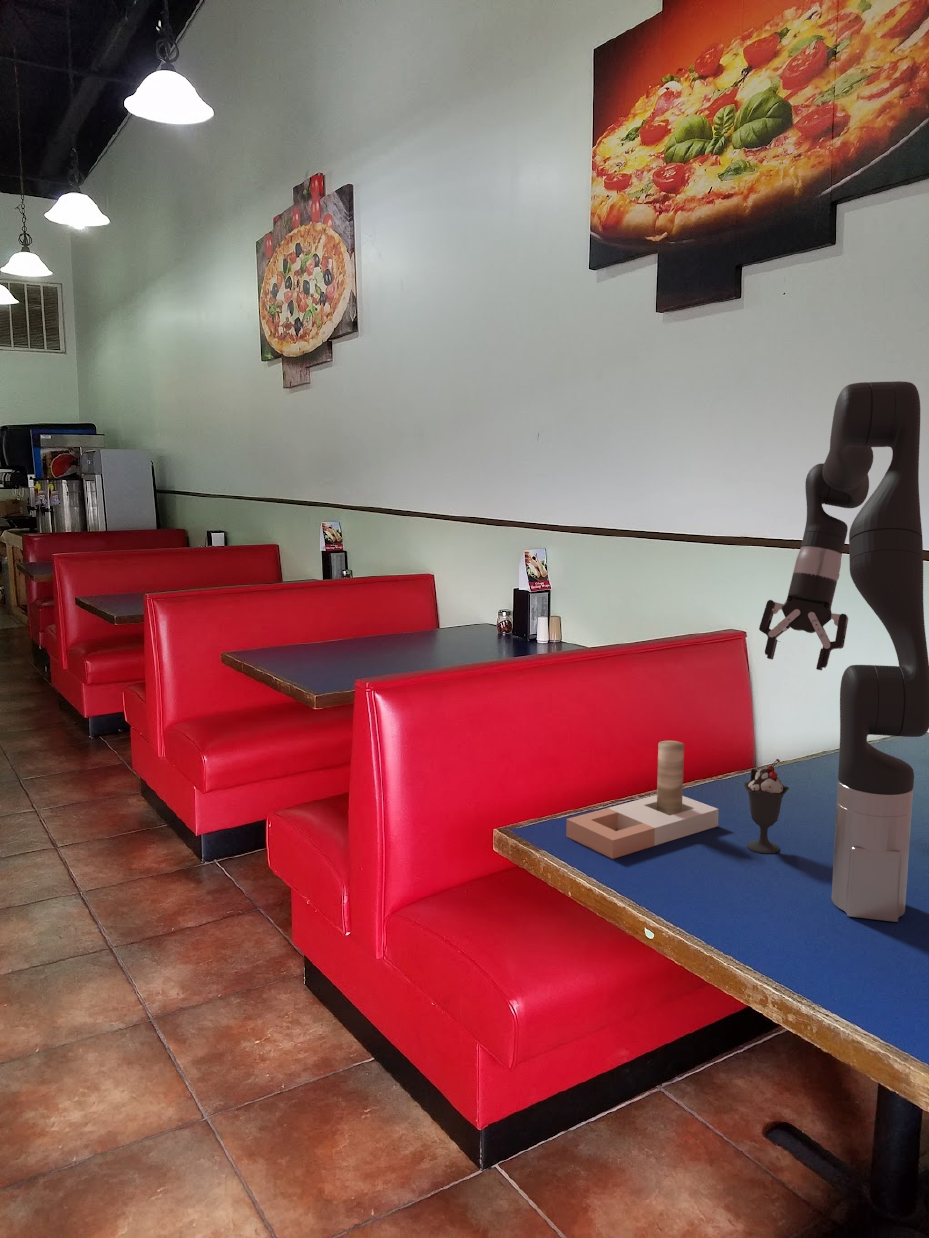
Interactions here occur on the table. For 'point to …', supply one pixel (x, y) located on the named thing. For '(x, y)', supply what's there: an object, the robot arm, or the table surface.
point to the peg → (670, 777)
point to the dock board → (638, 825)
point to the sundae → (765, 805)
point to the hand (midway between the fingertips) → (794, 664)
